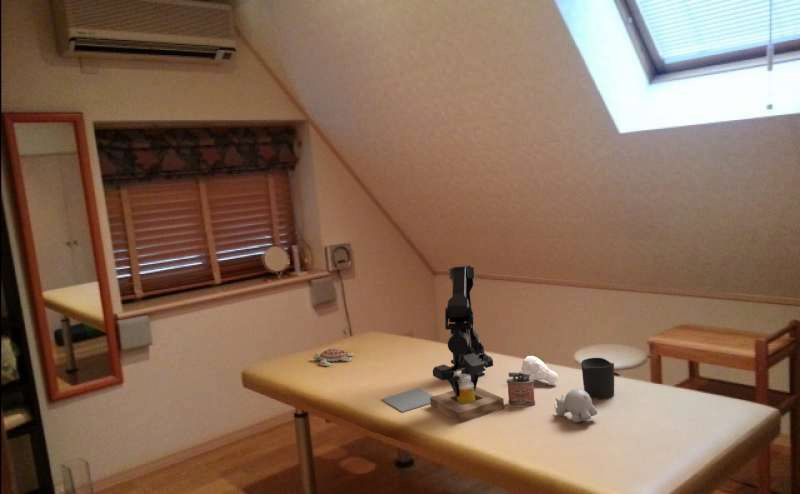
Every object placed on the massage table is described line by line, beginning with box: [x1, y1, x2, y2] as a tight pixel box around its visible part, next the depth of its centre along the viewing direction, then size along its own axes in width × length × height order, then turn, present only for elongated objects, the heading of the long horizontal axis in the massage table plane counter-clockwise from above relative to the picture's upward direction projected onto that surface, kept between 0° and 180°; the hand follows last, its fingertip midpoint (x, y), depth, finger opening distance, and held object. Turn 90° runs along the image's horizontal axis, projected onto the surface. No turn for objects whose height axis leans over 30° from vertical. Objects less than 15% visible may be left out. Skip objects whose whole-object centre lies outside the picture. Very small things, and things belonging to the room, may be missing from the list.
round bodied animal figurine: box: [553, 388, 598, 423], centre depth 167 cm, size 7×12×8 cm, turn 41°
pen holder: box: [581, 357, 615, 400], centre depth 182 cm, size 9×9×10 cm
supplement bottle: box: [457, 373, 475, 405], centre depth 182 cm, size 5×5×10 cm
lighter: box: [506, 370, 536, 407], centre depth 181 cm, size 8×3×10 cm, turn 71°
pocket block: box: [430, 386, 505, 424], centre depth 182 cm, size 16×16×3 cm
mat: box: [381, 387, 434, 414], centre depth 193 cm, size 14×14×1 cm
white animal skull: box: [521, 355, 559, 386], centre depth 196 cm, size 6×8×12 cm
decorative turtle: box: [312, 348, 355, 367], centre depth 244 cm, size 18×17×5 cm
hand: (465, 393), depth 182 cm, fingers closed on supplement bottle, 5 cm apart
